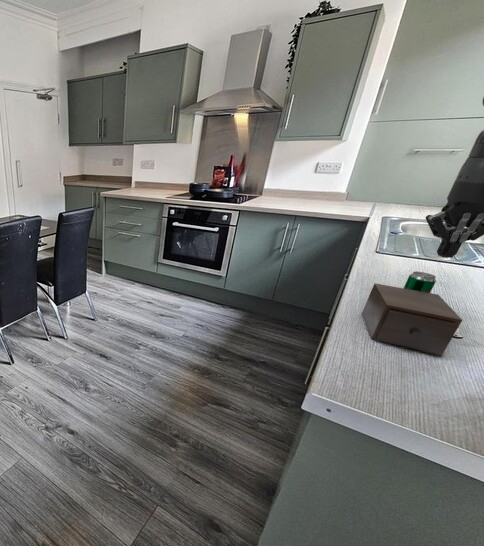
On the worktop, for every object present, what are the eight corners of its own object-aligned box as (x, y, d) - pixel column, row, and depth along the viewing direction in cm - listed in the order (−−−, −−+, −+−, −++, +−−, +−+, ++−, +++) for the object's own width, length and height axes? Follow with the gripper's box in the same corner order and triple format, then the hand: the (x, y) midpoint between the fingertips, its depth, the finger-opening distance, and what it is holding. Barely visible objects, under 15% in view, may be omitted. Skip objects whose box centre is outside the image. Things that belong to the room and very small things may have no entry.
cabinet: (441, 356, 70) (462, 320, 66) (371, 339, 76) (386, 304, 72) (421, 327, 81) (438, 294, 77) (361, 313, 87) (374, 283, 83)
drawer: (443, 358, 68) (461, 327, 65) (377, 341, 74) (391, 313, 70) (422, 327, 79) (436, 300, 76) (366, 315, 85) (377, 289, 82)
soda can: (391, 307, 91) (408, 269, 86) (415, 312, 88) (434, 273, 84) (395, 314, 87) (413, 275, 82) (420, 319, 85) (441, 279, 80)
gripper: (460, 181, 64) (423, 260, 71) (542, 182, 61) (495, 264, 68) (430, 177, 71) (399, 249, 77) (502, 178, 68) (464, 253, 75)
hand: (444, 256), depth 73 cm, fingers closed
